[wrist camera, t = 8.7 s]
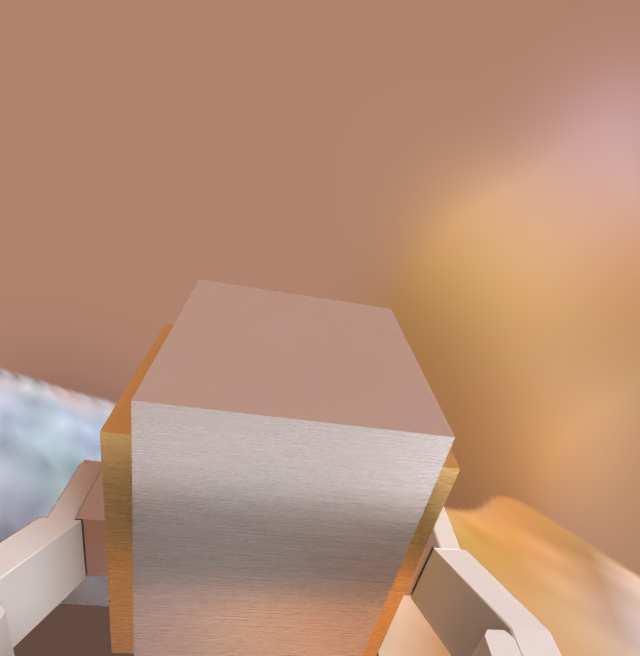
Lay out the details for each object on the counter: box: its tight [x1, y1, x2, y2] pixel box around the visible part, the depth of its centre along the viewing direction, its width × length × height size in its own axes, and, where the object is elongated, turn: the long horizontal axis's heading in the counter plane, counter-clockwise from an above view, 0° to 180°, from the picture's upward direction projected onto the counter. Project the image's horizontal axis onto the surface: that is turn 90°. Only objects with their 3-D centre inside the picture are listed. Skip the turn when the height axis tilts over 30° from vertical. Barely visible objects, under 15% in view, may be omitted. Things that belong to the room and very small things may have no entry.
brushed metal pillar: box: [100, 280, 460, 656], centre depth 10 cm, size 6×4×12 cm
